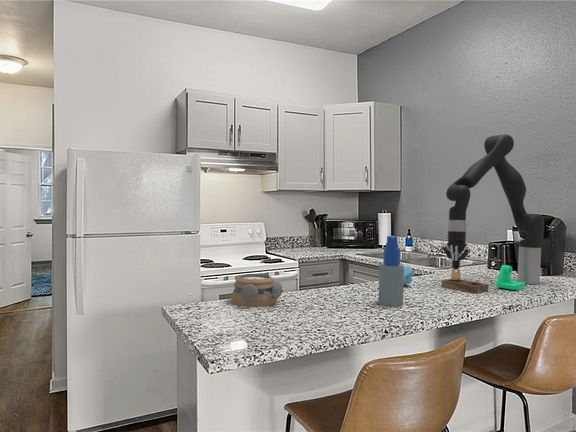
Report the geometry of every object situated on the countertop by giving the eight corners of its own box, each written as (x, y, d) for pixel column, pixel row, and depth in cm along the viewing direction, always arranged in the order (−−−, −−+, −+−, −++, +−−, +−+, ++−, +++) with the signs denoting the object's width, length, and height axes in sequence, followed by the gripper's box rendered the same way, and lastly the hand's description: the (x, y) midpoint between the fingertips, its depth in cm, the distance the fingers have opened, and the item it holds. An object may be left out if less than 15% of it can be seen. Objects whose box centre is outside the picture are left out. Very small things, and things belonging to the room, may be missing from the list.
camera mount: (513, 292, 181) (514, 268, 180) (495, 289, 187) (496, 266, 186) (525, 288, 188) (526, 266, 188) (507, 285, 194) (508, 263, 194)
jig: (454, 284, 193) (454, 278, 193) (488, 291, 181) (488, 284, 180) (441, 287, 188) (441, 280, 187) (475, 293, 175) (475, 286, 174)
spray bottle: (379, 299, 161) (381, 234, 160) (403, 302, 158) (405, 235, 157) (376, 305, 152) (378, 236, 151) (402, 307, 149) (404, 237, 149)
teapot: (422, 286, 188) (423, 264, 187) (402, 290, 179) (403, 266, 179) (390, 280, 202) (390, 259, 202) (370, 283, 193) (371, 261, 193)
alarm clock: (265, 271, 167) (294, 281, 146) (265, 294, 167) (293, 308, 147) (224, 274, 158) (248, 285, 138) (224, 298, 159) (248, 313, 138)
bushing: (453, 286, 190) (454, 268, 190) (461, 287, 187) (461, 269, 187) (449, 287, 188) (449, 269, 188) (456, 288, 185) (457, 270, 185)
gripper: (475, 231, 184) (474, 270, 184) (448, 229, 194) (447, 266, 195) (466, 231, 179) (464, 271, 180) (438, 229, 190) (437, 267, 190)
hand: (455, 268), depth 187 cm, fingers closed
